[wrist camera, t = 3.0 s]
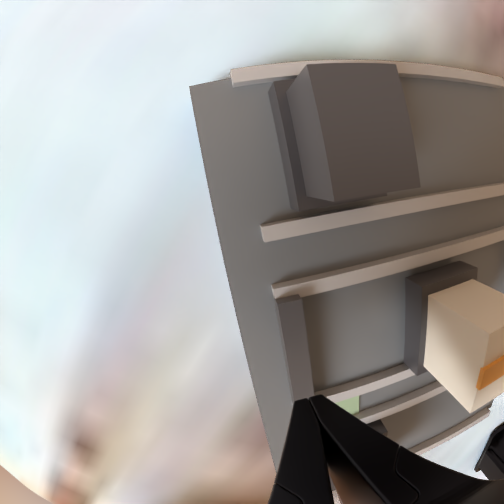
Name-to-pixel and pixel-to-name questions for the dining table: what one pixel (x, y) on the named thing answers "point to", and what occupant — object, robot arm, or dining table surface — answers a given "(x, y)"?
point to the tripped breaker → (456, 332)
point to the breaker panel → (350, 226)
